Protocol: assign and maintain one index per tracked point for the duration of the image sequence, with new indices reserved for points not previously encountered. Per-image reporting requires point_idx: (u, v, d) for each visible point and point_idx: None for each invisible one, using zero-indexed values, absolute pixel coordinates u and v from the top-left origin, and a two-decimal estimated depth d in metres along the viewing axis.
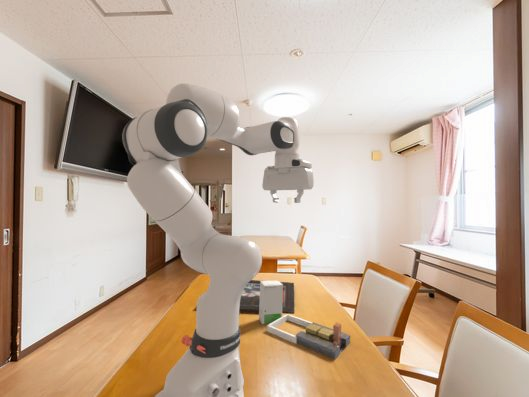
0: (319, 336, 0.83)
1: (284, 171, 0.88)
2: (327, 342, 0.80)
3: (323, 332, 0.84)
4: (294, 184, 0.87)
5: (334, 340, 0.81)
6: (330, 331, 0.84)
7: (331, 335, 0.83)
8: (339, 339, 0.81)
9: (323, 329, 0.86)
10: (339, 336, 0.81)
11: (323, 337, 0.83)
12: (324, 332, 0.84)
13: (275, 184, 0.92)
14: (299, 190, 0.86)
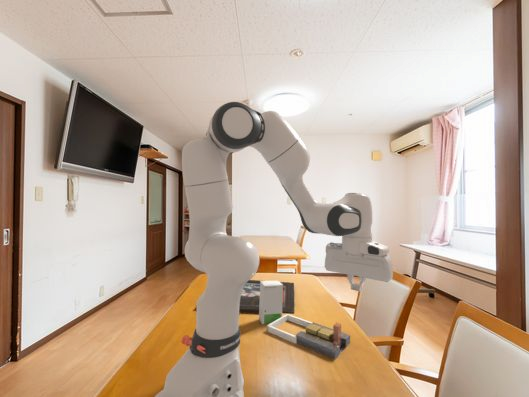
0: (319, 336, 0.83)
1: (356, 256, 0.76)
2: (327, 342, 0.80)
3: (323, 332, 0.84)
4: (370, 273, 0.74)
5: (334, 340, 0.81)
6: (330, 331, 0.84)
7: (331, 335, 0.83)
8: (339, 339, 0.81)
9: (323, 329, 0.86)
10: (339, 336, 0.81)
11: (323, 337, 0.83)
12: (324, 332, 0.84)
13: (343, 268, 0.79)
14: (362, 278, 0.76)
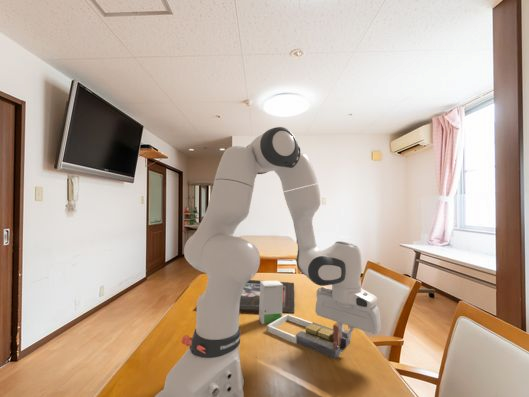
0: (319, 336, 0.83)
1: (345, 306, 0.77)
2: (327, 342, 0.80)
3: (323, 332, 0.84)
4: (358, 323, 0.76)
5: (334, 340, 0.81)
6: (330, 331, 0.84)
7: (331, 335, 0.83)
8: (339, 339, 0.81)
9: (323, 329, 0.86)
10: (339, 336, 0.81)
11: (323, 337, 0.83)
12: (324, 332, 0.84)
13: (333, 315, 0.81)
14: (351, 327, 0.78)
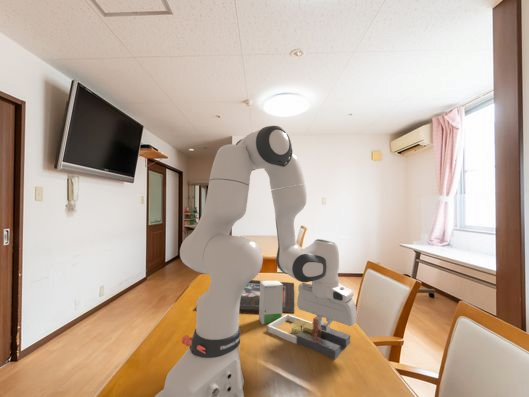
0: (303, 330, 0.87)
1: (324, 300, 0.82)
2: (327, 342, 0.80)
3: (307, 326, 0.87)
4: (335, 316, 0.80)
5: (314, 332, 0.86)
6: None
7: None
8: (318, 331, 0.86)
9: (307, 323, 0.89)
10: (318, 329, 0.86)
11: (307, 330, 0.86)
12: (308, 326, 0.88)
13: (312, 309, 0.85)
14: (329, 319, 0.82)
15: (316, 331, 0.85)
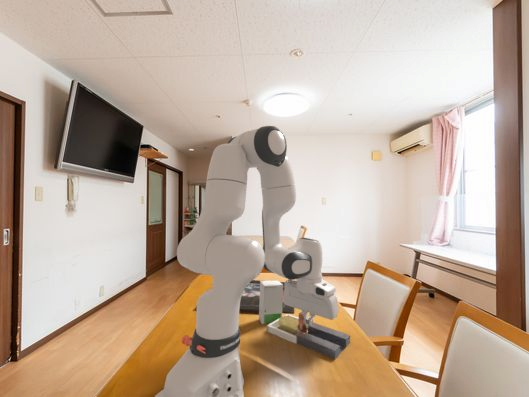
0: (289, 326, 0.91)
1: (307, 295, 0.86)
2: (327, 342, 0.80)
3: (292, 322, 0.91)
4: (318, 311, 0.84)
5: (299, 327, 0.89)
6: None
7: None
8: (304, 326, 0.89)
9: (294, 320, 0.93)
10: (304, 323, 0.89)
11: (292, 326, 0.90)
12: (294, 322, 0.91)
13: (297, 304, 0.89)
14: (312, 314, 0.86)
15: (301, 325, 0.89)
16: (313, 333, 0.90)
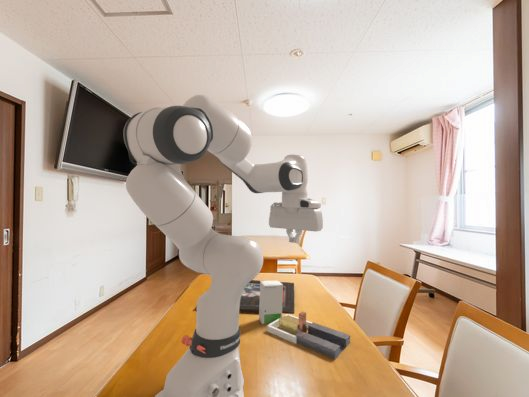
0: (289, 326, 0.91)
1: (292, 211, 0.85)
2: (327, 342, 0.80)
3: (292, 322, 0.91)
4: (302, 225, 0.83)
5: (299, 327, 0.89)
6: None
7: None
8: (304, 326, 0.89)
9: (293, 320, 0.93)
10: (304, 323, 0.89)
11: (292, 326, 0.90)
12: (294, 322, 0.91)
13: (282, 223, 0.88)
14: (297, 231, 0.85)
15: (301, 326, 0.89)
16: (313, 333, 0.90)
